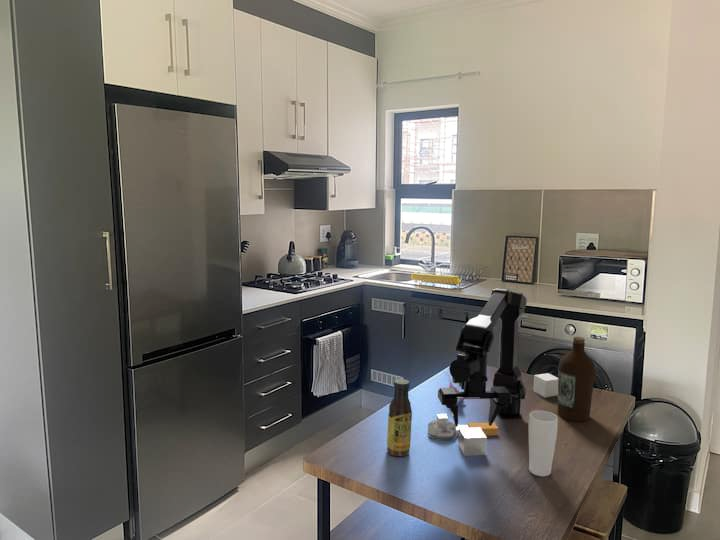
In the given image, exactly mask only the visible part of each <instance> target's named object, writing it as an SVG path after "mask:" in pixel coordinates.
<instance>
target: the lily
mask: <svg viewBox="0 0 720 540" xmlns="http://www.w3.org/2000/svg"><path fill="white" fill-rule="evenodd" d="M444 371H445V373H446V374H447V376H448V381H449V387H448V388H453V389H454V391H455V392H460V390H459V388H461V386H459V385H458V386H456V387H455V386H454V385H453V384H454V383H453V382H452V380H451V379H452V378H451V377H450V374H448V373H447V371H446V370H444ZM461 401H462V402H463V404H464V405H466V403H465V402H464V401H465V400H464V399H461Z"/></svg>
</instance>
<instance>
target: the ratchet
mask: <svg viewBox="0 0 720 540" xmlns="http://www.w3.org/2000/svg"><path fill="white" fill-rule="evenodd" d="M476 427H480V428H481V429H482V431H483V432H484V434H485V435H489V436H499V427H498V426H497V425H496V423H495V421H494V422H493V423H492V425H491V426H489V422H467V423H466V424H458V427H456V426H455V423H454V422H452V421H449V417H448V416H447V413H439V414H438V413H437V414H436V419H435V420H431V421H429V422H428V424H427V435H428V434H429V435H430V436H431V438H432V437H433V438H432V439H434V438H435V439H434V440H438V439H439V441H449V439H450V440H453V439H454V438H456V437H457V436H456V435H459V428H476ZM429 435H428V436H429ZM430 436H429V437H430ZM452 438H453V439H452Z"/></svg>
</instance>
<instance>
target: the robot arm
mask: <svg viewBox="0 0 720 540" xmlns="http://www.w3.org/2000/svg"><path fill="white" fill-rule="evenodd" d="M526 307H527V297H525V295H524V293H522V292H516V291H512V290H509V289H504V288H493V289H492V291H491V296H490V297H489V298H488V300H487V302H486V303H485V305H484V307H482V310H481V311H480V313H479V314H478V315H477V316H475V317H473V318H470V319H469V320H468V321H467V322H466V323H465V324H464V326H463V327H462V328H461V331H460V334H459V338H458V340H457V344H456V348H455V351H457V352H460V353H458V354H457V356H456V358H455V359H454V360H453V361H451V363H450V365H449V368H448V369H449V375H450V376H451V379H452V380H451V381H452V384H458V387H459V386H460V389H461V390H463V391H459V392H455V391H454V389H453V388H449V387H440V388H438V391H437V399H438V400H439V401H440V404H441V405H442V406H445V407H446V408H447V409H449V410H450V413H451V416H452V419H453V423H454V424H455V426H456V427H458V425H459V406H458V404H457V403H458V400H462V399H463V400H477V399H478V400H486V399H487V400H488V399H489V410H488V411H489V412H488V420H487V421H488V422H487V423H489V426H491V425H492V423H493V422H494V423H495V420H496V418H497V417H498V416H499V417H500V418H502V419H515V418H517V419H519V418H520V419H521V418H523V416H522V414H521V401H522V400H525V399H526V394H527V392H526V391H527V388H526V386H525V383H524V381H523V376H522V375H523V374H522V372H521V370H520V368H519V366H517V365H518V364H517V363H518V362H517V361H518V360H517V359H518V355H517V354H518V337H519V335H518V334H519V319H520V318H521V317H522V316H523V314H524V313H525V309H526ZM499 318H500V320H501V342H500V343H501V345H500V347H501V348H500V366H499V368H498V370H497V371H496V372H495V373H494V377H493V379H492V385H493V386H492V387H491V388H490V390H489V391H487V389H486V388H487V382H488V375H487V372H488V371H487V370H488V367H487V366H488V353H490V349H491V348H492V345H493V342H494V339H495V336H494V327H495V325H496V323H498V322H497V321H498V320H499Z"/></svg>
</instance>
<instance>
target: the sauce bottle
mask: <svg viewBox="0 0 720 540" xmlns="http://www.w3.org/2000/svg"><path fill="white" fill-rule="evenodd" d="M393 386H394V390H393V391H394V394H393V399H391V400H390V403H389V405H388V410H389V411H388V417H387V438H386V450H387V453H388V454H389V455H390V456H393V457H394V456H395V457H405V456H407V455H408V454H409V453H410V448H411V438H412V435H411V434H412V420H413V418H412V417H413V412H412V407H411V406H412V405H411V401H410V399H409V389H410V381H409V380H407V379H403V378H399V379H398V378H397V379H395V380H394V382H393Z"/></svg>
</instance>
